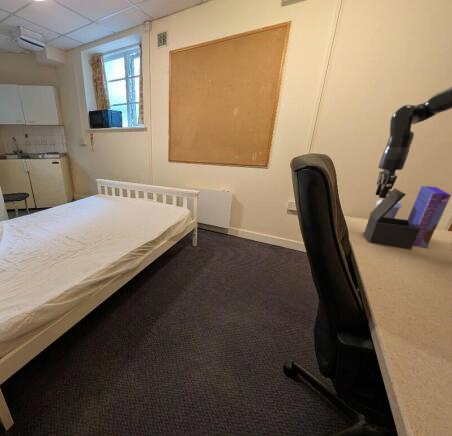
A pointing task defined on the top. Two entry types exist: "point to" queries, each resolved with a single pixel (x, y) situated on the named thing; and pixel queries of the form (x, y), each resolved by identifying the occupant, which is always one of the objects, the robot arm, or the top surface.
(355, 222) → the top surface
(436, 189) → the cereal box
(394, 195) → the lid
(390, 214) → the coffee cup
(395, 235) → the dark hinged box
